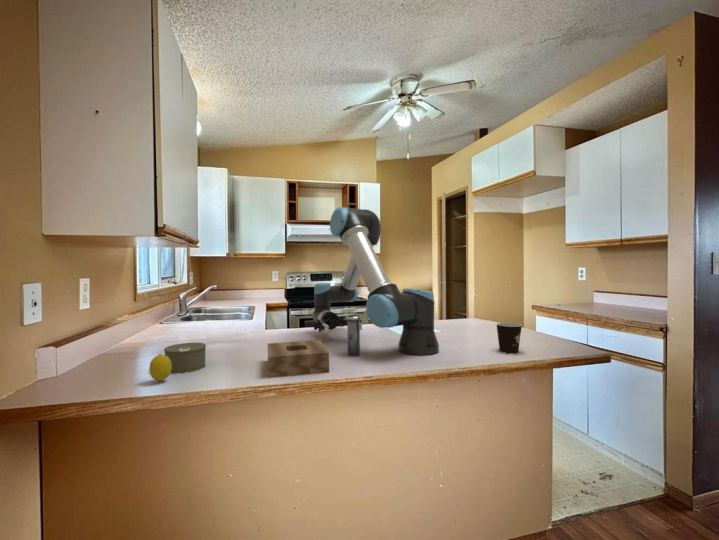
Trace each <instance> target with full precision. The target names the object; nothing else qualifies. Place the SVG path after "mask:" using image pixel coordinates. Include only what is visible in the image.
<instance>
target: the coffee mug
mask: <svg viewBox="0 0 719 540" xmlns="http://www.w3.org/2000/svg"><path fill="white" fill-rule="evenodd" d="M522 326H523V325H522V324H520V323H517V322H498V323H496V329H497V330H496V331H497V339H498V349H499V352H500V351H501V353H503V352H505V353H504V354H509V353H515V354H518V353H519V350H520V344H521V343H520V341H521V333H522Z"/></svg>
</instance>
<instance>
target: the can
mask: <svg viewBox="0 0 719 540" xmlns="http://www.w3.org/2000/svg"><path fill="white" fill-rule="evenodd" d="M206 347H207V345H206V344H205V343H203V342H185V343H177V344H173V345H169V346H166V347H165V348H164V349H163V351H164V355H166V356H167V357H169V359H170V360H171V364H172V370H171V373H170V374H173V373H180V374H187V373H186V372H189V373H194V372H196V371H197V370H198V371H201V370H203V369H204V368H205V367H206ZM202 368H203V369H202ZM200 369H201V370H200ZM193 371H194V372H193ZM198 371H197V372H198Z"/></svg>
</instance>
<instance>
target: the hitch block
mask: <svg viewBox="0 0 719 540" xmlns="http://www.w3.org/2000/svg"><path fill="white" fill-rule="evenodd" d="M324 373H330V352H329V350H328V349H327V347H326V346H325V345H324V344H323V342H322V340H320V339H319V340H318V339H317V340H303V341H287V342H272V343H271V342H270V343H267V377H269V378H277V377H289V376H290V377H291V376H300V375H301V376H302V375H313V374H324Z"/></svg>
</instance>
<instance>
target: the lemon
mask: <svg viewBox="0 0 719 540" xmlns="http://www.w3.org/2000/svg"><path fill="white" fill-rule="evenodd" d="M148 368H149V369H148V371H149V375H150V377H151V378H152V379H153V380H157V381H158V382H159V383H161V382H163V381H164V380H166V379H167V378H168V377H169V376H170V375H171V374H172V373H171V370H172V364H171V360H170V359H169V357H167V356H166V355H165V354H163V353H159V354H157V355H156V356H154V357H153V358H152V359H151V361H150V363H149V367H148Z"/></svg>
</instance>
